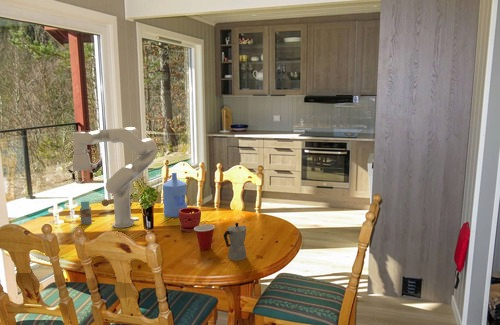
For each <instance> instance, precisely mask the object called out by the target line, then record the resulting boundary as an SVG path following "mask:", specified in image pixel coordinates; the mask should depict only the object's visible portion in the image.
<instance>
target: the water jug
mask: <svg viewBox="0 0 500 325" xmlns="http://www.w3.org/2000/svg"><path fill="white" fill-rule="evenodd" d="M177 177H178V175H177V172H172V173H171V179H169V180H168V181H167V182H164V183H162V194H163V196H162V197H163V198H162V199H163V200H162V201H163V215H164V217H168V218H179V210H181V209H184V208H188V202H186V195H187V194H188V191H187V188H188V186H187V183H186V182H185V181H182V180H180V179H178V178H177Z"/></svg>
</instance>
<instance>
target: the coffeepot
mask: <svg viewBox="0 0 500 325" xmlns="http://www.w3.org/2000/svg"><path fill="white" fill-rule="evenodd" d="M246 234H247V226H246V225H239V222H235V224H234V225H232V226H229V227H228V228H227V230H225V231H224V233H223V239H224V241H225V244H226V247H227V248H229V249H228V255H227V257H228V260H231V261H233V262H234V261H237V262H240V261H244V260H246V258H247V251H246V246H245V241H246ZM229 242H230V243H229Z"/></svg>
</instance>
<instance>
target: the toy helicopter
mask: <svg viewBox="0 0 500 325" xmlns="http://www.w3.org/2000/svg"><path fill="white" fill-rule="evenodd" d="M110 196H111V197H114V194H111V195H110ZM131 199H132V198H131V195H130V208H131V207H132V205H133V204H132V202H131ZM101 205H102V206H103V207H108V206H109V205H114V198H111V199H106V198H105V199H102V200H101Z"/></svg>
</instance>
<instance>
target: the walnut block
mask: <svg viewBox="0 0 500 325" xmlns="http://www.w3.org/2000/svg"><path fill="white" fill-rule="evenodd" d="M79 213H80V218H81V217H90V216H92V206H90V208H89V209H85V210H81V207H80V208H79Z"/></svg>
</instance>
